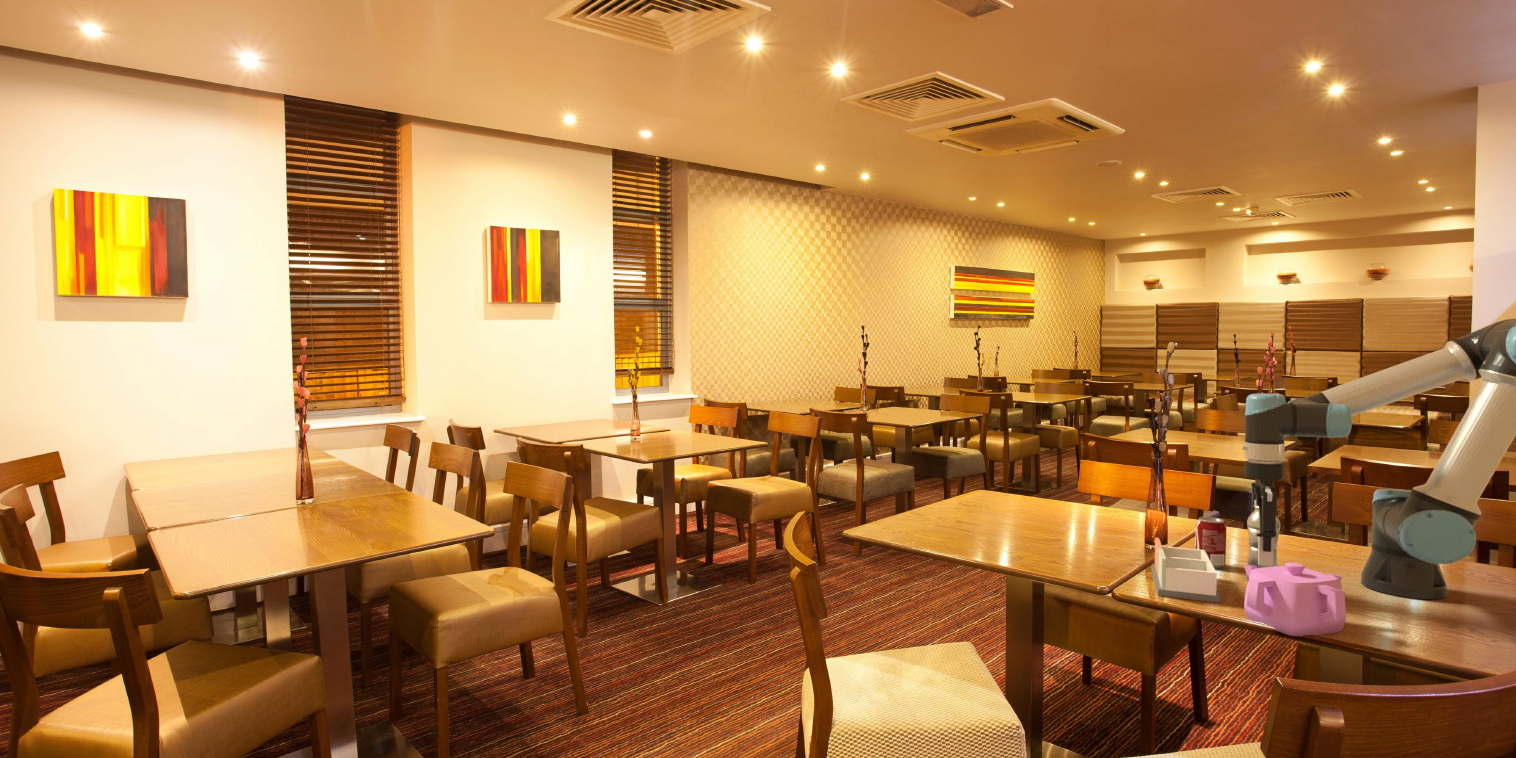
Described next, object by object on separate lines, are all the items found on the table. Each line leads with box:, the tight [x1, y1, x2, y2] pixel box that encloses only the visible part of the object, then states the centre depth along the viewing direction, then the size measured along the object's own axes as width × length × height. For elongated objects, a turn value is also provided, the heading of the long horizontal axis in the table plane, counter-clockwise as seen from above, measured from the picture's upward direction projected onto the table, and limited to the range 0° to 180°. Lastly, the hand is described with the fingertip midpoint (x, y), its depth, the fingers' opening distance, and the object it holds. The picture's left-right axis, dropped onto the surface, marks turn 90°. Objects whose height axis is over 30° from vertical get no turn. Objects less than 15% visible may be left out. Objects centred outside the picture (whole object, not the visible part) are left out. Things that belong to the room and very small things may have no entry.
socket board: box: [1150, 537, 1221, 604], centre depth 178 cm, size 12×20×8 cm, turn 156°
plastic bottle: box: [1245, 499, 1281, 582], centre depth 175 cm, size 6×7×20 cm
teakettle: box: [1243, 562, 1347, 637], centre depth 154 cm, size 17×17×12 cm
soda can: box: [1194, 516, 1227, 570], centre depth 194 cm, size 7×7×12 cm
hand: (1262, 560), depth 175 cm, fingers closed on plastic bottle, 6 cm apart
